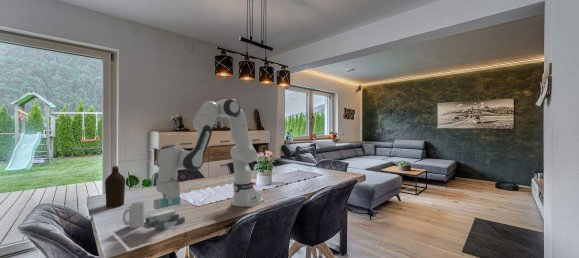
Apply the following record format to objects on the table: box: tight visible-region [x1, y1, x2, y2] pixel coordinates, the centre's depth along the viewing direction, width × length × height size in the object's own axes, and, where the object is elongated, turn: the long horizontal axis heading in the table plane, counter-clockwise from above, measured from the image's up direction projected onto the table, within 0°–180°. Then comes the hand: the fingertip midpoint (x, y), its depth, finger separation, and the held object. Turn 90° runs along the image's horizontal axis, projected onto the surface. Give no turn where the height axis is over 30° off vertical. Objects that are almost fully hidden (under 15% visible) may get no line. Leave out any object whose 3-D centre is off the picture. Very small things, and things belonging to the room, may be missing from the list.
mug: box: [122, 201, 145, 229], centre depth 123 cm, size 10×7×12 cm, turn 150°
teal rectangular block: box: [153, 195, 181, 210], centre depth 127 cm, size 12×3×4 cm, turn 139°
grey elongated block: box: [148, 209, 176, 223], centre depth 131 cm, size 12×3×4 cm, turn 139°
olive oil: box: [104, 165, 126, 209], centre depth 156 cm, size 11×11×25 cm
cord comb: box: [145, 213, 186, 231], centre depth 129 cm, size 14×14×4 cm
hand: (167, 202), depth 127 cm, fingers closed on teal rectangular block, 3 cm apart
